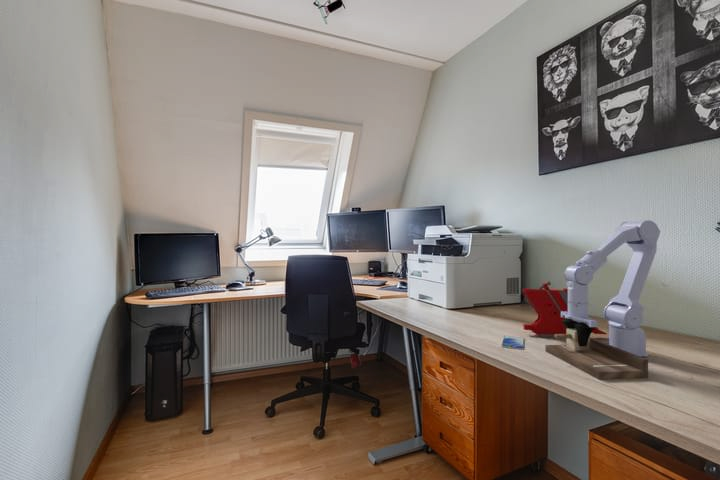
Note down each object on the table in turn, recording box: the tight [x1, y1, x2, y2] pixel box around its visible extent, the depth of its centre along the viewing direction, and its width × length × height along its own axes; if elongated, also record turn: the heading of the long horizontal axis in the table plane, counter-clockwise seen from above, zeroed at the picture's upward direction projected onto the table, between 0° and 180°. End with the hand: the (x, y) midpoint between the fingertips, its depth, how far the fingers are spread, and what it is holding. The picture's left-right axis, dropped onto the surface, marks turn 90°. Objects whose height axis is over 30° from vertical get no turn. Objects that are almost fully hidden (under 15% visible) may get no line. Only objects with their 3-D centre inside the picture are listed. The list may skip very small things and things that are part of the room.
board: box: [545, 337, 649, 380], centre depth 107 cm, size 14×24×5 cm, turn 4°
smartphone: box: [500, 335, 526, 351], centre depth 128 cm, size 7×1×15 cm
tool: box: [522, 281, 608, 339], centre depth 137 cm, size 27×6×27 cm, turn 86°
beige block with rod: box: [554, 328, 591, 350], centre depth 114 cm, size 10×4×6 cm, turn 94°
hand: (577, 343), depth 115 cm, fingers closed on beige block with rod, 4 cm apart
